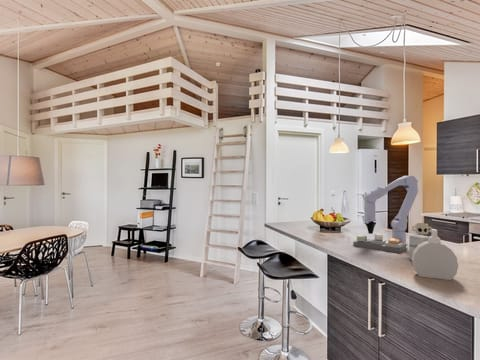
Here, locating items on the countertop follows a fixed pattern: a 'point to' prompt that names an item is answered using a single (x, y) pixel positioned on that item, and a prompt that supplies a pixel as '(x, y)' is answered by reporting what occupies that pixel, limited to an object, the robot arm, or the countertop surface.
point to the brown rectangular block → (395, 241)
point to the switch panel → (381, 245)
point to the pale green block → (361, 238)
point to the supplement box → (415, 242)
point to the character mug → (421, 228)
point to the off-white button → (378, 237)
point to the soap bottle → (434, 259)
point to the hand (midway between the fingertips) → (370, 233)
